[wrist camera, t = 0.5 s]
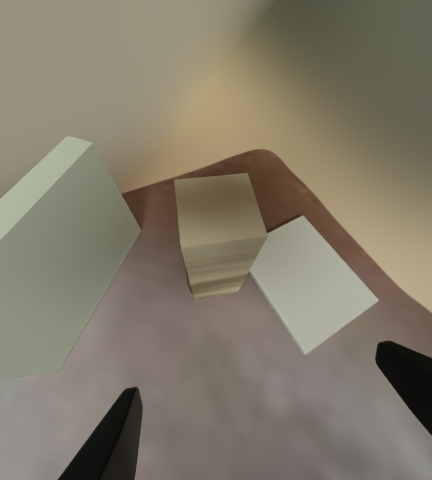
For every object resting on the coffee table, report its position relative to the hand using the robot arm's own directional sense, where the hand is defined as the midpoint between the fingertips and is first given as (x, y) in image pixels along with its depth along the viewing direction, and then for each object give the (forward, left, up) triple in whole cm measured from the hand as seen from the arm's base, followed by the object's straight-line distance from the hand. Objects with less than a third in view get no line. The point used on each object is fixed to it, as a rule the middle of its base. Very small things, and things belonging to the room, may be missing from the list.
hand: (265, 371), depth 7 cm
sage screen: (+12, +9, -13) cm, 20 cm away
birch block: (+8, -2, -13) cm, 15 cm away
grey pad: (+3, -11, -13) cm, 17 cm away
